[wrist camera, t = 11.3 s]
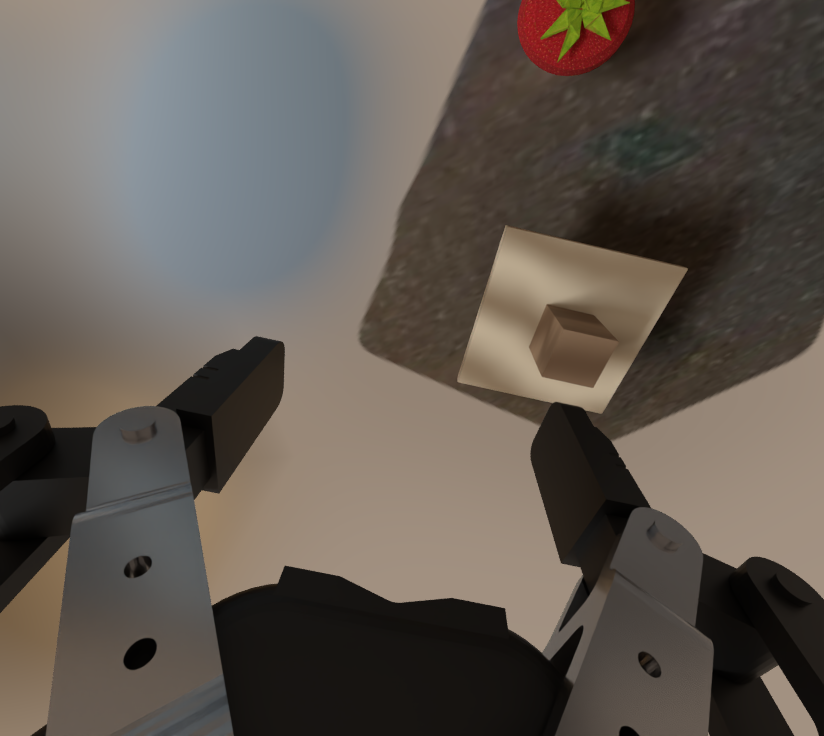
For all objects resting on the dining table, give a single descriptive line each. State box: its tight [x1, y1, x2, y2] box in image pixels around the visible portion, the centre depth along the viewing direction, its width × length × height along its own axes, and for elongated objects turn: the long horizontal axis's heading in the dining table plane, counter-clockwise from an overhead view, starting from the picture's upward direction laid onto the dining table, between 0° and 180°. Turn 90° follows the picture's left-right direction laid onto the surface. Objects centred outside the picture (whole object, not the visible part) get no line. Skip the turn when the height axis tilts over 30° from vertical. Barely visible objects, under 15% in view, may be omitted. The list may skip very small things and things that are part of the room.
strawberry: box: [517, 0, 635, 76], centre depth 25 cm, size 6×8×10 cm
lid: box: [458, 225, 688, 414], centre depth 29 cm, size 14×14×6 cm
